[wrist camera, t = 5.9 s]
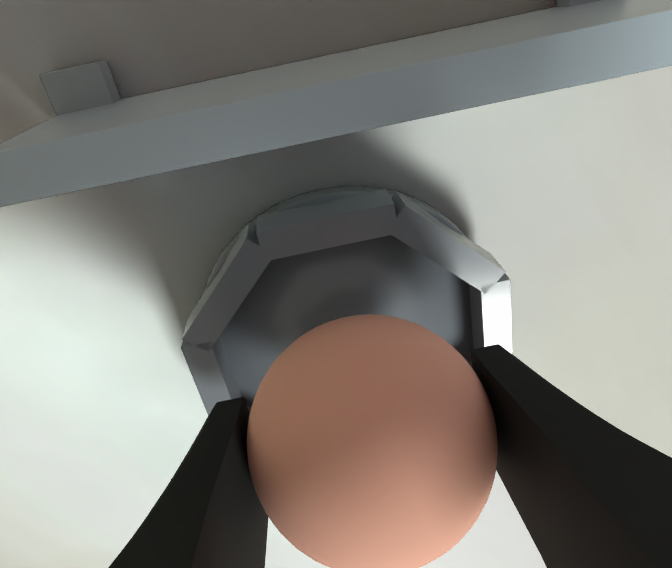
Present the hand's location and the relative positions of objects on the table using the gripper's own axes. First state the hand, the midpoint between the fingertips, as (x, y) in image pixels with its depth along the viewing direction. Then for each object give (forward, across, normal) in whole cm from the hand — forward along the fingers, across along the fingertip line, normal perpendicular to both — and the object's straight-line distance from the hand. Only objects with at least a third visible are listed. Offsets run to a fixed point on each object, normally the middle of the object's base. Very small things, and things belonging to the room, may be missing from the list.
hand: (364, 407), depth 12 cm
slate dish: (+3, 0, 0) cm, 3 cm away
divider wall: (+3, -1, -6) cm, 7 cm away
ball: (+2, 0, 0) cm, 2 cm away
